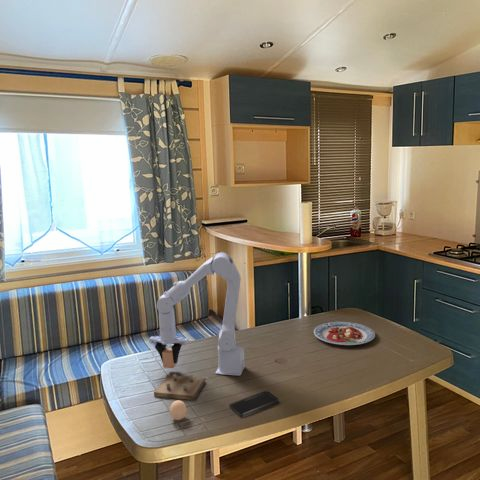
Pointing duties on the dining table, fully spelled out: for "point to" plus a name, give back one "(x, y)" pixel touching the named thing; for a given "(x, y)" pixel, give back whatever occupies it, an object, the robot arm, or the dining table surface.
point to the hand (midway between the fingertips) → (170, 361)
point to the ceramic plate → (344, 333)
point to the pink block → (168, 358)
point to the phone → (254, 403)
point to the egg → (178, 410)
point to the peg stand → (179, 387)
